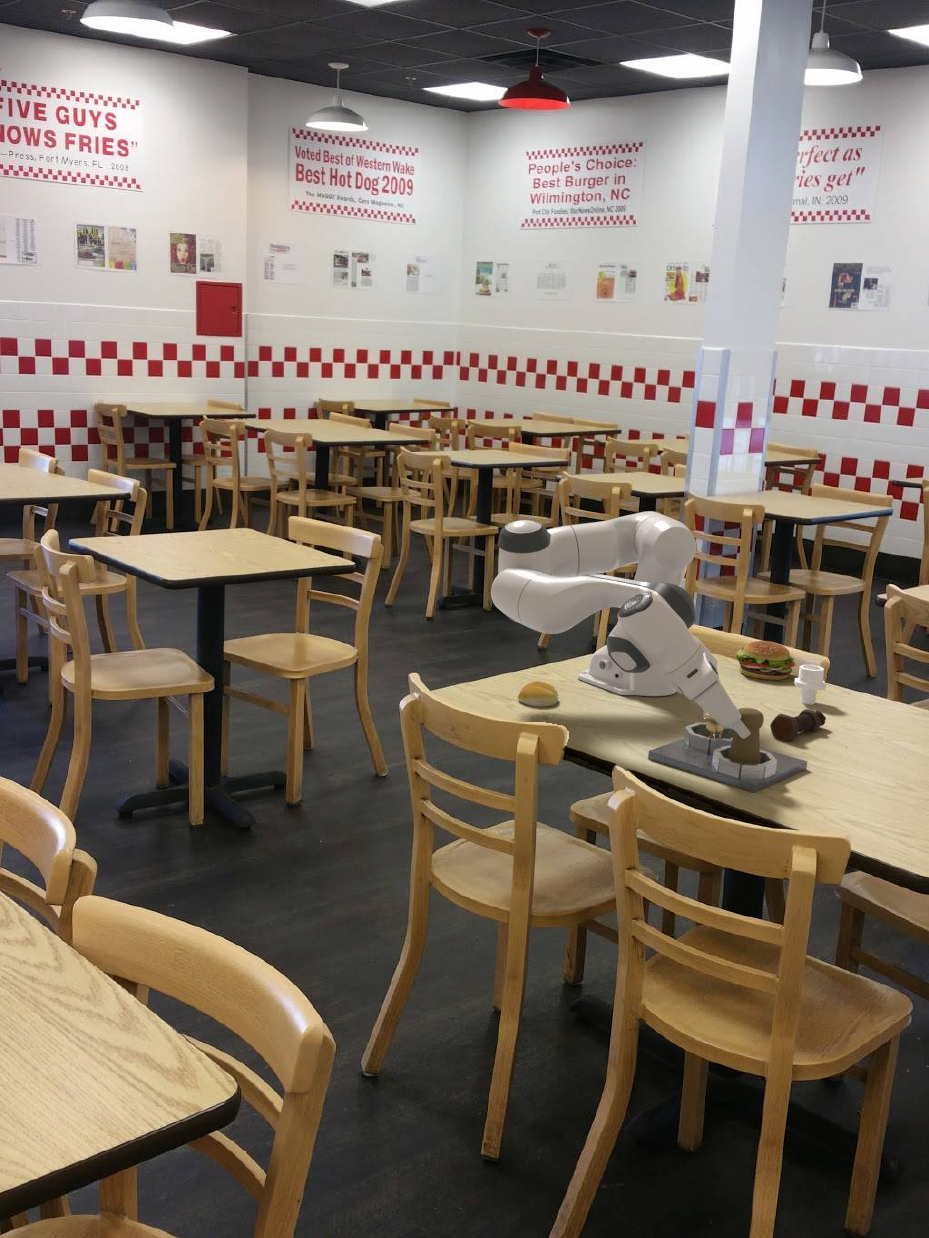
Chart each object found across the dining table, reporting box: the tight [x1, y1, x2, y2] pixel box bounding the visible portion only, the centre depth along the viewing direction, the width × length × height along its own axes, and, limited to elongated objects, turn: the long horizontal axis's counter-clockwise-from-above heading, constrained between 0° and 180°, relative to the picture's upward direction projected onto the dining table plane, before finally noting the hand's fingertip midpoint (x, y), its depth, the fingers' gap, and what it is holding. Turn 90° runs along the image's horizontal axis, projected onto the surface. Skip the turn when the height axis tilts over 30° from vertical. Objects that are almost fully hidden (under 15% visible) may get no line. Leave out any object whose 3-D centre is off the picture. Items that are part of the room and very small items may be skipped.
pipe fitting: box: [793, 664, 827, 705], centre depth 262 cm, size 6×7×8 cm
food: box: [735, 640, 796, 681], centre depth 284 cm, size 14×14×8 cm
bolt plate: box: [647, 710, 808, 793], centre depth 218 cm, size 22×19×8 cm
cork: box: [728, 707, 765, 764], centre depth 211 cm, size 6×6×11 cm
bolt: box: [769, 708, 827, 743], centre depth 239 cm, size 6×5×15 cm
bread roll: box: [517, 680, 559, 708], centre depth 251 cm, size 8×9×4 cm
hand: (741, 727), depth 210 cm, fingers open, 8 cm apart
